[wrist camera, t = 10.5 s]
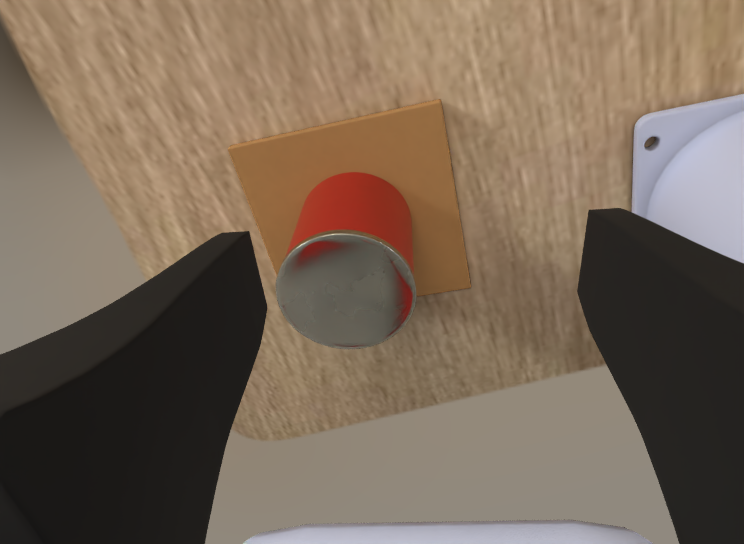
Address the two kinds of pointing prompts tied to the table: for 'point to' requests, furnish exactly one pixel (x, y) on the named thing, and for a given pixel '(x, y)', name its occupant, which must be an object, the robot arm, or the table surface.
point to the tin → (349, 264)
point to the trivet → (372, 156)
